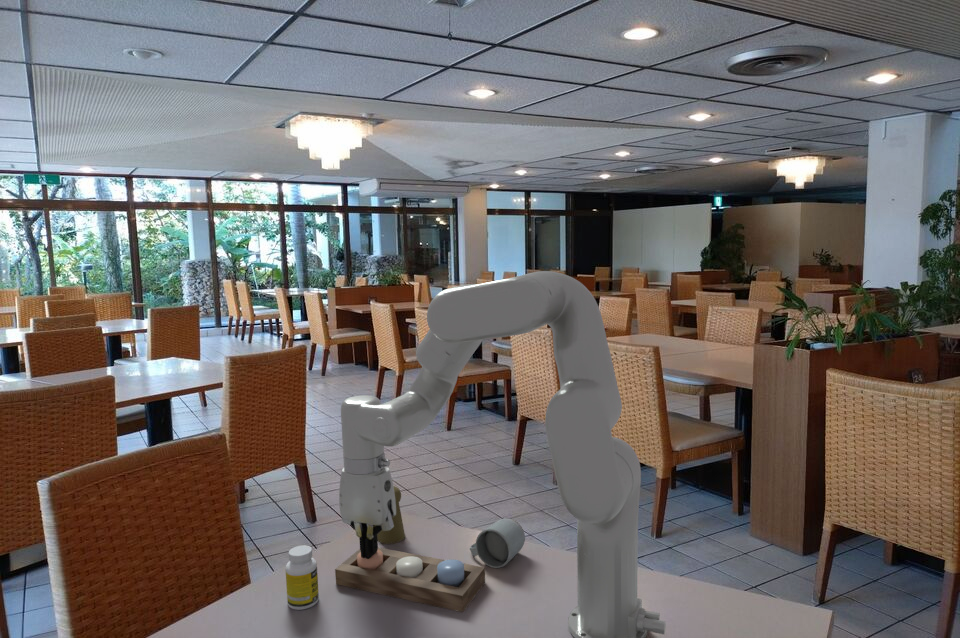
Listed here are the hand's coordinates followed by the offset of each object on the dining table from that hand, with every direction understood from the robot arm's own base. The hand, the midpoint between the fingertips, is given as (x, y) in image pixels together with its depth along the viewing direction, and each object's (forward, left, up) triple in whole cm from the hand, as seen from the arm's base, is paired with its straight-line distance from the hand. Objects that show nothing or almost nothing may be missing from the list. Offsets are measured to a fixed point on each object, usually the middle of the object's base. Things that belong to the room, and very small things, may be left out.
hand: (369, 554), depth 126 cm
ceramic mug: (-20, -14, -4) cm, 25 cm away
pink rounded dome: (0, 0, -3) cm, 3 cm away
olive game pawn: (+4, -15, -4) cm, 16 cm away
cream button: (-9, 0, -3) cm, 9 cm away
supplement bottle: (+6, +12, -4) cm, 14 cm away
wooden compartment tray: (-9, 0, -4) cm, 10 cm away
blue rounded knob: (-17, 0, -2) cm, 17 cm away
